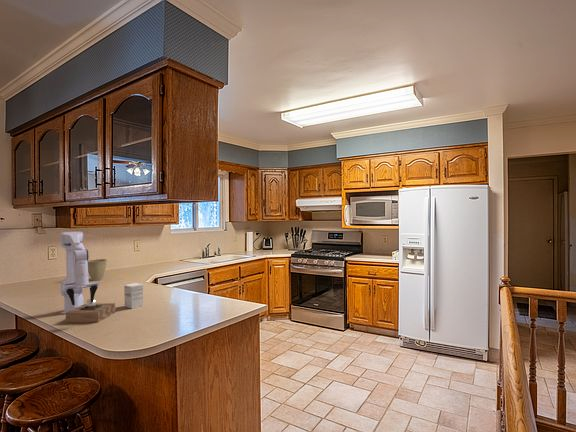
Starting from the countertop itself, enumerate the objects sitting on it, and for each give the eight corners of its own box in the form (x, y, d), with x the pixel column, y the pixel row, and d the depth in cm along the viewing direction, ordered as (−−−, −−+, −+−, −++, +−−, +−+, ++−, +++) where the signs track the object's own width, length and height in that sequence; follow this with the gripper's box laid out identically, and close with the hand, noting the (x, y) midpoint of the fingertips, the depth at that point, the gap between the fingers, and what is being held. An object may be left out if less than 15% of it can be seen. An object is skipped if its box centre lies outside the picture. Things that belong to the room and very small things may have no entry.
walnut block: (85, 312, 178) (85, 302, 178) (115, 312, 178) (115, 302, 178) (65, 322, 162) (65, 311, 162) (98, 322, 162) (98, 311, 162)
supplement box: (124, 307, 188) (123, 284, 188) (136, 304, 195) (135, 282, 194) (131, 309, 184) (131, 286, 184) (143, 305, 191) (143, 283, 190)
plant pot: (92, 278, 276) (91, 259, 276) (110, 277, 277) (110, 258, 277) (82, 282, 261) (81, 262, 261) (101, 281, 262) (101, 261, 262)
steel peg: (90, 308, 172) (89, 298, 172) (97, 308, 172) (97, 298, 172) (85, 310, 168) (85, 301, 168) (93, 310, 168) (93, 300, 168)
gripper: (64, 276, 151) (66, 306, 150) (100, 272, 161) (102, 300, 160) (62, 277, 156) (63, 306, 155) (96, 273, 166) (98, 300, 165)
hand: (82, 303), depth 158 cm, fingers open, 7 cm apart
